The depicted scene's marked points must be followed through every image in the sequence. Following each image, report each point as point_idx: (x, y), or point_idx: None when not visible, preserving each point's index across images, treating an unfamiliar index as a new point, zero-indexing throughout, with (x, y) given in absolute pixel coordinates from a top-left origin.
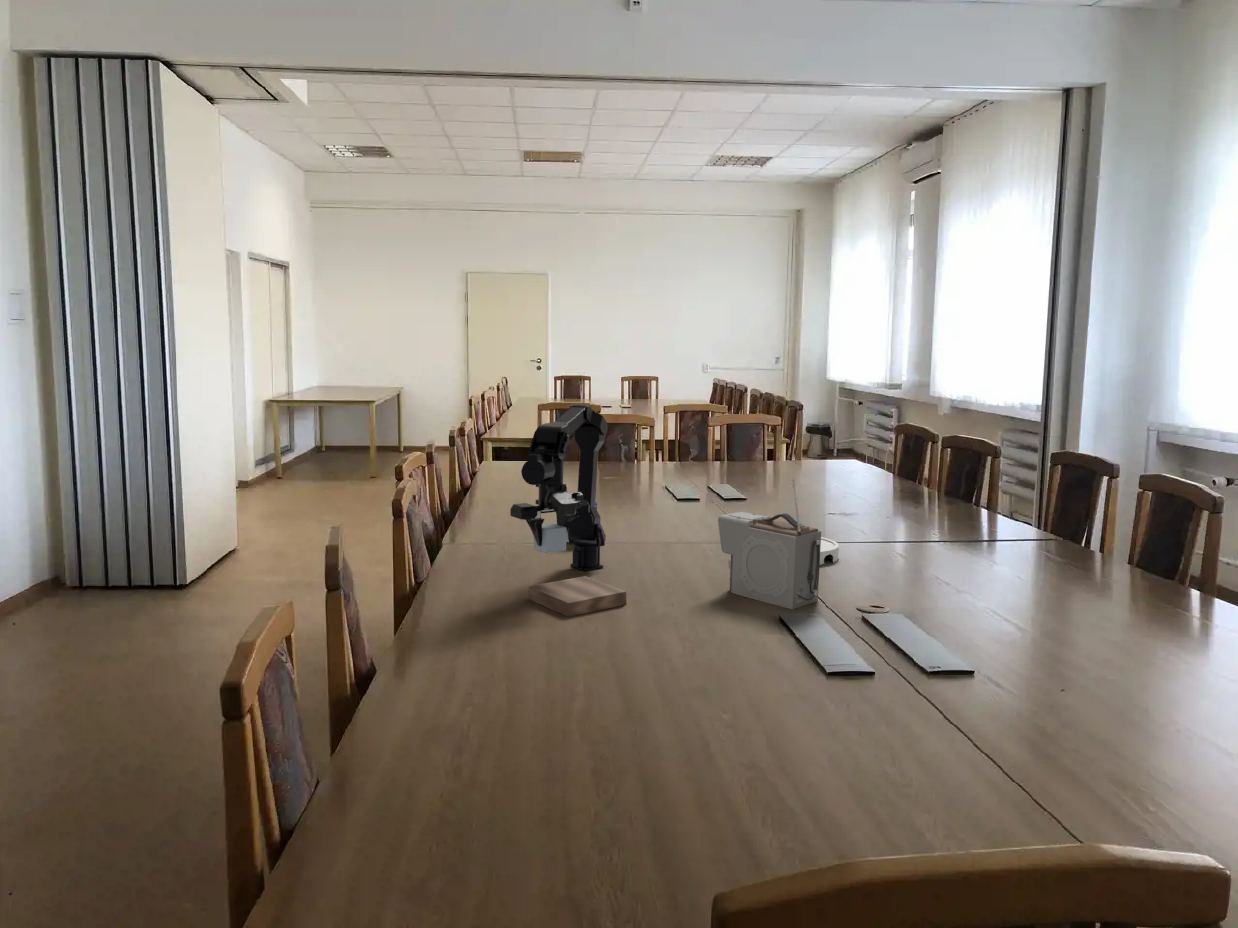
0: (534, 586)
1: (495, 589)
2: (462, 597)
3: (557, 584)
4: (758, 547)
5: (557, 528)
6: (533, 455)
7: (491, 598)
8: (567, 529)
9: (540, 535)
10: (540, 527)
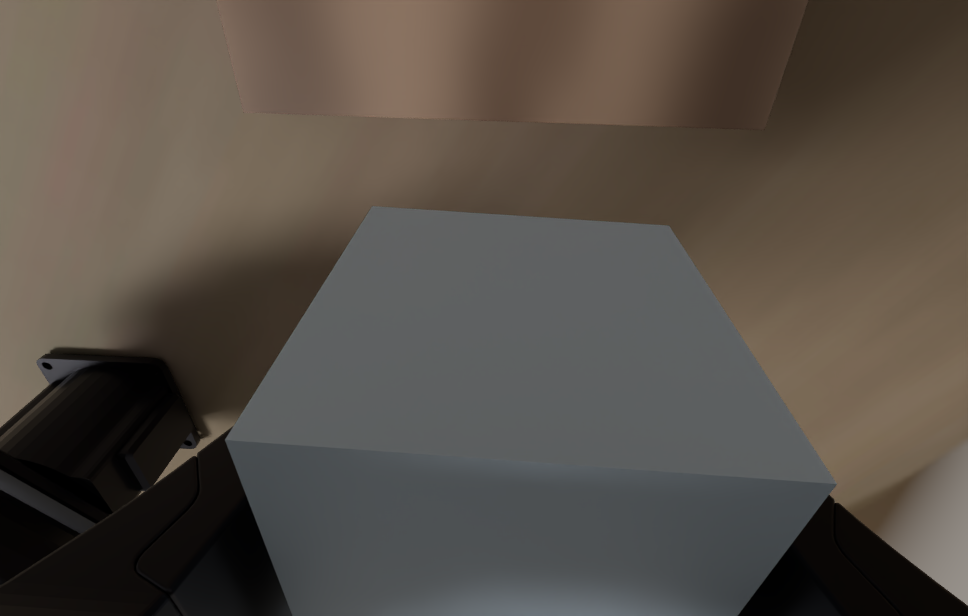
0: (740, 97)
1: None
2: (922, 336)
3: (566, 30)
4: None
5: (487, 470)
6: None
7: (854, 246)
8: (187, 460)
9: None
10: (889, 612)
